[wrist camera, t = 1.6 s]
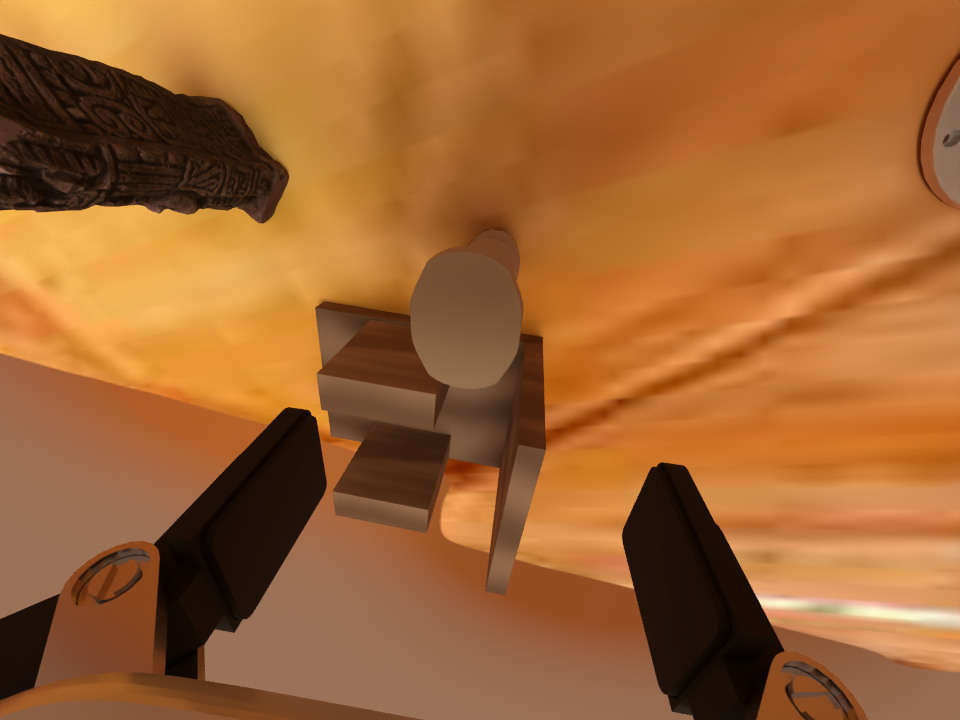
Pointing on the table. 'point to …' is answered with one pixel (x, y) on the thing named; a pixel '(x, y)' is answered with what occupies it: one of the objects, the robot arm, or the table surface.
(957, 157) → the robot arm
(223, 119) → the statue
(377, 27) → the table surface
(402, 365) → the wooden stand
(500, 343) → the handle
